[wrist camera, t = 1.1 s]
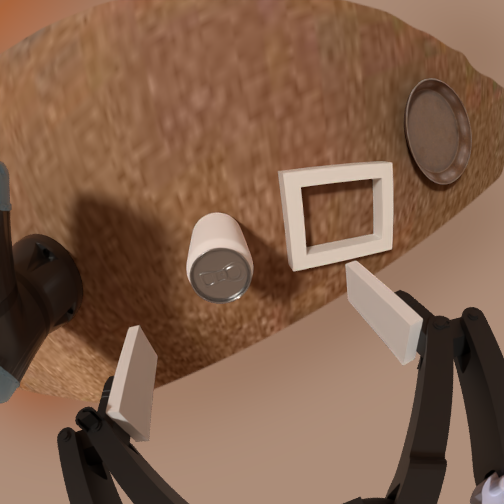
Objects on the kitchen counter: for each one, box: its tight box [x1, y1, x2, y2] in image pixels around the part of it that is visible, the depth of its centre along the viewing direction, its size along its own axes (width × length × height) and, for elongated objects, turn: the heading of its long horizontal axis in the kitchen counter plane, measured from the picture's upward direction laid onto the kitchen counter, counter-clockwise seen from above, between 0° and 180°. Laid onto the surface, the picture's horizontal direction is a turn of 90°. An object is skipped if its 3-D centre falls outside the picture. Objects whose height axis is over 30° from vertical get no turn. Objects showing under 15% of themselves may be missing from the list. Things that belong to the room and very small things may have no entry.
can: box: [187, 213, 253, 304], centre depth 30 cm, size 6×6×12 cm
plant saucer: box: [404, 79, 472, 185], centre depth 33 cm, size 18×18×3 cm
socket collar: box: [278, 161, 393, 272], centre depth 35 cm, size 16×13×2 cm
